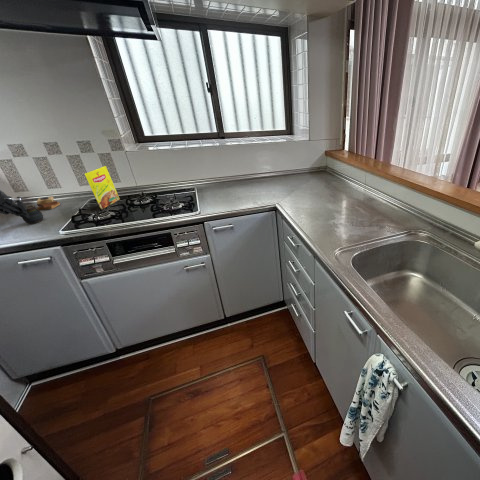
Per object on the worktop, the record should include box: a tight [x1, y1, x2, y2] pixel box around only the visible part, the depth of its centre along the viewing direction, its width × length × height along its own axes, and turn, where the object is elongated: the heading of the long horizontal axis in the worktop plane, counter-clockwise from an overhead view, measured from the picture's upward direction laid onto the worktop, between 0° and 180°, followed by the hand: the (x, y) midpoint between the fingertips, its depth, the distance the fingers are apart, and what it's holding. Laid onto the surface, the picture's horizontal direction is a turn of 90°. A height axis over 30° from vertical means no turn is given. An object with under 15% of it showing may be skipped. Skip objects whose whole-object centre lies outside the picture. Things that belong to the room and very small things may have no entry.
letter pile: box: [35, 196, 61, 211], centre depth 149 cm, size 9×9×5 cm
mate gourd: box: [22, 204, 44, 225], centre depth 131 cm, size 7×8×10 cm
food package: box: [84, 165, 121, 210], centre depth 148 cm, size 15×1×20 cm, turn 179°
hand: (27, 216), depth 128 cm, fingers closed
